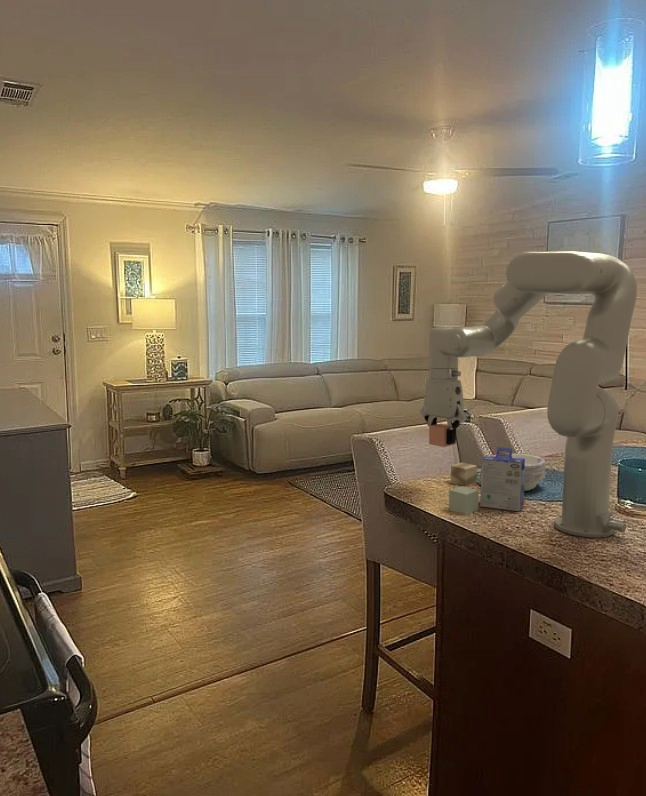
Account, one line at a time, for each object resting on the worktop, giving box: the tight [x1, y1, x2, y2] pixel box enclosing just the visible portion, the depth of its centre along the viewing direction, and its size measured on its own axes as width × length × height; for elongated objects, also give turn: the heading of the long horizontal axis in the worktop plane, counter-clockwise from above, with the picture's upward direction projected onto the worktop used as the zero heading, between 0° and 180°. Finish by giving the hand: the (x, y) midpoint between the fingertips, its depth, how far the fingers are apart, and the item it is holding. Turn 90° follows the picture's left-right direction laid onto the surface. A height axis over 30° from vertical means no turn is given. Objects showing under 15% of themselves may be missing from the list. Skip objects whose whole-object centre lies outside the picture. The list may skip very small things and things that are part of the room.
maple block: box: [450, 462, 478, 487], centre depth 177 cm, size 5×5×5 cm
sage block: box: [448, 485, 480, 515], centre depth 154 cm, size 5×5×5 cm
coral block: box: [428, 422, 457, 448], centre depth 168 cm, size 5×5×5 cm
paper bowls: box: [492, 453, 546, 492], centre depth 172 cm, size 15×15×8 cm
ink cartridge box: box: [479, 447, 525, 512], centre depth 156 cm, size 10×6×14 cm, turn 65°
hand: (442, 441), depth 169 cm, fingers closed on coral block, 4 cm apart
